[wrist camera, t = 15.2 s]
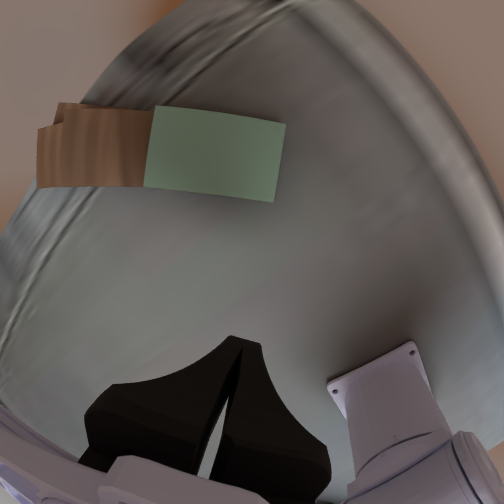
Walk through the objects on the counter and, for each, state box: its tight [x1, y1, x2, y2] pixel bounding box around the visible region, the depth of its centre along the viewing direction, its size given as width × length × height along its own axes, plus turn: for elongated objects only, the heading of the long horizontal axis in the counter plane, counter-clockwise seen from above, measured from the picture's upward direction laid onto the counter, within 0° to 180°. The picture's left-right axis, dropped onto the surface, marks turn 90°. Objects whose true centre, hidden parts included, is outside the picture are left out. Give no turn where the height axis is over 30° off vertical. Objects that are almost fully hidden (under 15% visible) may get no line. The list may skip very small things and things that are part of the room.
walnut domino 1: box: [37, 123, 63, 189], centre depth 19 cm, size 2×5×8 cm
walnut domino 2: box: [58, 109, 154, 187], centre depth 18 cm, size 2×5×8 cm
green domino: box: [143, 105, 286, 203], centre depth 18 cm, size 2×5×8 cm
